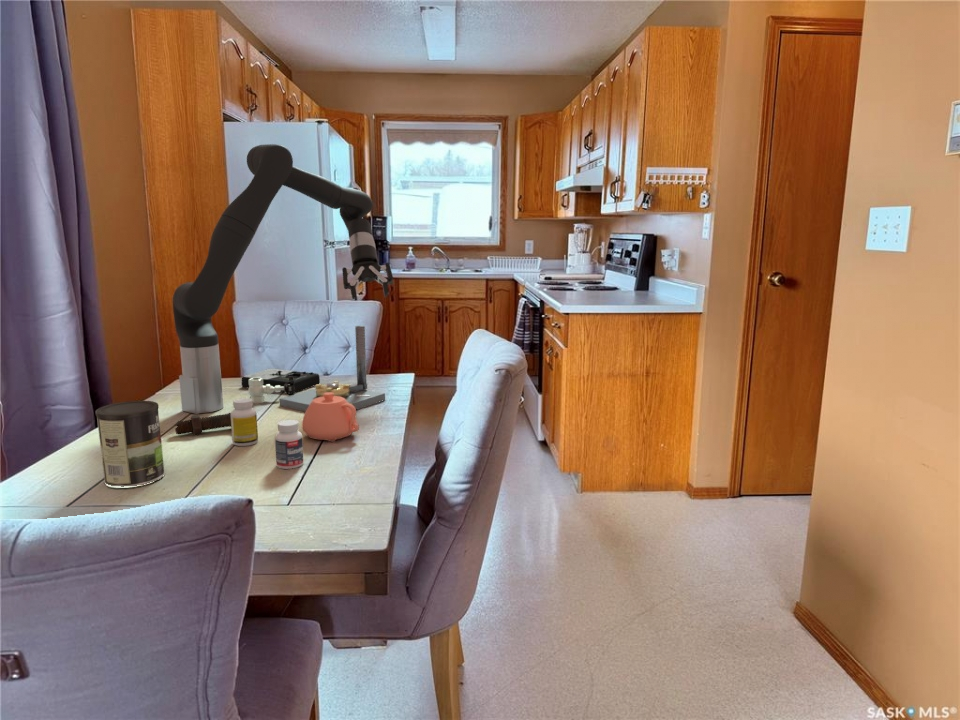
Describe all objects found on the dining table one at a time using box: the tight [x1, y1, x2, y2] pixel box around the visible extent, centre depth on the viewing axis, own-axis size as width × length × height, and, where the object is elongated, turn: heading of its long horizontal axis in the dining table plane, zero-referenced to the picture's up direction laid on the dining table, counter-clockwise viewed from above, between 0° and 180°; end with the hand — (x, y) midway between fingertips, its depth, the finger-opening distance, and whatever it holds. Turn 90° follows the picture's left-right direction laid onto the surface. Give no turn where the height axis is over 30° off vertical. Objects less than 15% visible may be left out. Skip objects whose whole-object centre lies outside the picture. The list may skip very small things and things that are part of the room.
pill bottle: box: [274, 419, 304, 470], centre depth 127 cm, size 5×5×9 cm
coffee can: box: [95, 400, 166, 487], centre depth 119 cm, size 10×10×14 cm
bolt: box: [174, 412, 231, 436], centre depth 149 cm, size 6×5×15 cm
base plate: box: [279, 388, 386, 412], centre depth 174 cm, size 20×20×2 cm
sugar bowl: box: [301, 392, 360, 442], centre depth 145 cm, size 12×14×10 cm
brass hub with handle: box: [314, 325, 368, 398], centre depth 175 cm, size 15×9×18 cm, turn 135°
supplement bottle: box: [230, 397, 259, 447], centre depth 141 cm, size 5×5×10 cm
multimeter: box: [241, 368, 321, 394], centre depth 194 cm, size 13×19×5 cm
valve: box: [247, 376, 295, 404], centre depth 177 cm, size 7×7×12 cm
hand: (371, 297), depth 182 cm, fingers open, 8 cm apart
